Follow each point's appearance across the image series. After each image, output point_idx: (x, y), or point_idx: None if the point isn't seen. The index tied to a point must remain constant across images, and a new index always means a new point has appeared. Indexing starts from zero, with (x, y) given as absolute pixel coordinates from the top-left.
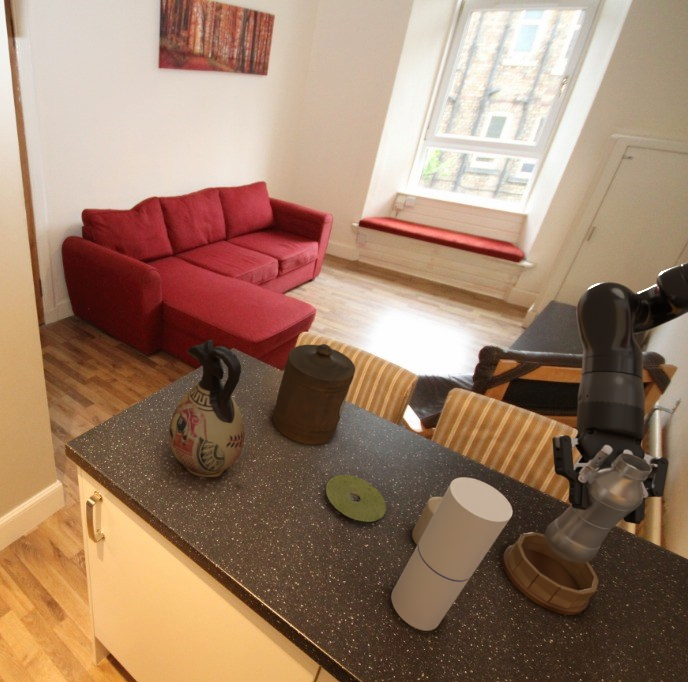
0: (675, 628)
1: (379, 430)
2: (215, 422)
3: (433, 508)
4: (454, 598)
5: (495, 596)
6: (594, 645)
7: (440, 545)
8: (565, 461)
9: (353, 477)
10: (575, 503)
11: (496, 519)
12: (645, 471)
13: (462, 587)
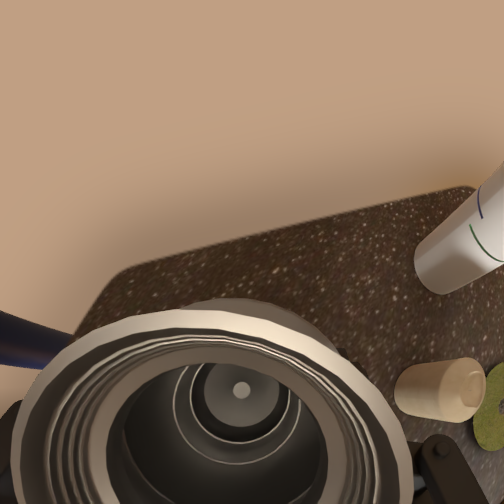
0: (75, 338)
1: None
2: None
3: (484, 375)
4: (456, 209)
5: (336, 321)
6: (211, 281)
7: None
8: (471, 480)
9: (500, 445)
10: (357, 363)
11: None
12: (151, 326)
13: (469, 197)
